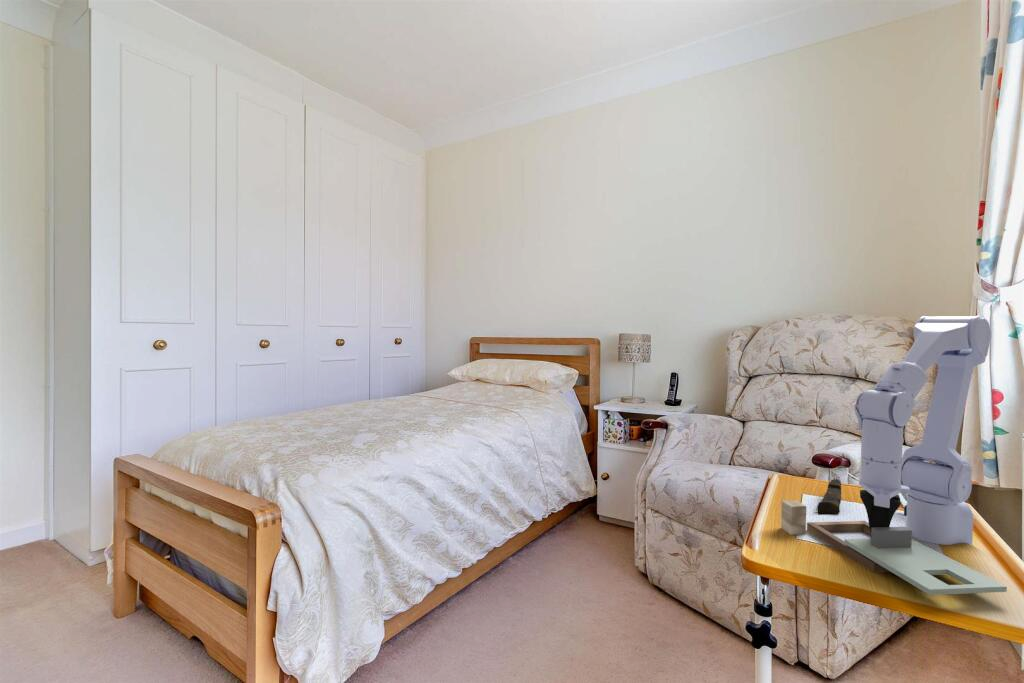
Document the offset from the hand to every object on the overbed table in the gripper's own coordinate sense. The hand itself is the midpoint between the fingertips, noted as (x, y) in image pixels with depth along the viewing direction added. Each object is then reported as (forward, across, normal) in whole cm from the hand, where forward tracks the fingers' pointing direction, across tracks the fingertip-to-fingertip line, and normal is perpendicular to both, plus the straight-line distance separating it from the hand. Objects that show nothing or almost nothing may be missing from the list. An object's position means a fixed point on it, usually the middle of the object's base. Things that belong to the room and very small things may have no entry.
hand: (878, 534), depth 85 cm
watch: (+5, +28, -8) cm, 29 cm away
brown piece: (+5, +2, +1) cm, 5 cm away
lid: (+2, -6, -5) cm, 8 cm away
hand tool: (+5, +26, +8) cm, 28 cm away
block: (+5, +2, +13) cm, 14 cm away
